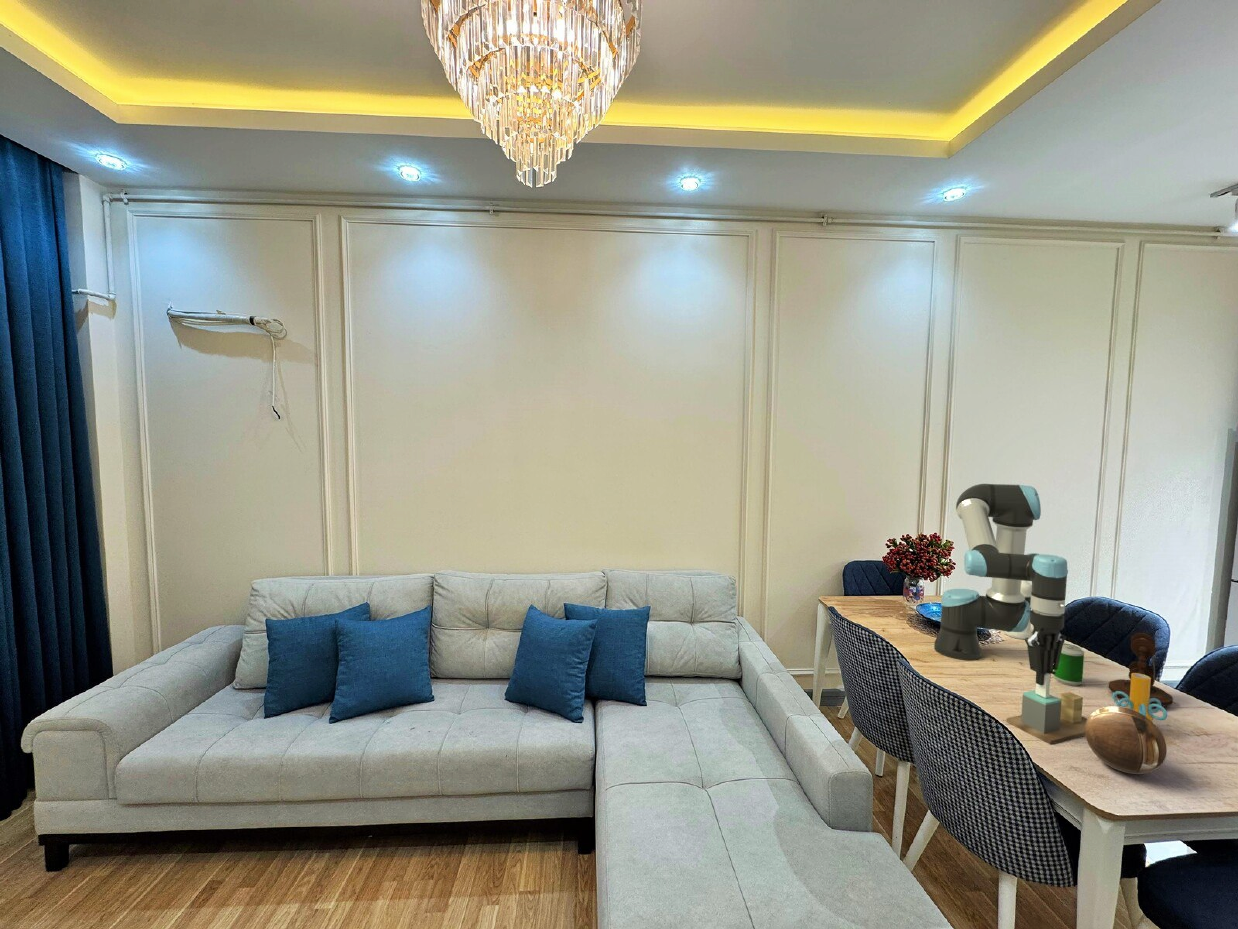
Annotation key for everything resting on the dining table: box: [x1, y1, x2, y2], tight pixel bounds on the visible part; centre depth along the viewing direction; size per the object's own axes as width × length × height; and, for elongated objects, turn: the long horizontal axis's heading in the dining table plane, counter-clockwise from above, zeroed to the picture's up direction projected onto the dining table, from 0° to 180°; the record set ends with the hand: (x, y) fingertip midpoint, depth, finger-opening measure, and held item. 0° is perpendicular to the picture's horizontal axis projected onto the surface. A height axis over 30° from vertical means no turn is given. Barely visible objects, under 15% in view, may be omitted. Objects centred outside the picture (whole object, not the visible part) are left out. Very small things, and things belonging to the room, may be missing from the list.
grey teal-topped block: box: [1021, 689, 1062, 734], centre depth 156 cm, size 6×6×9 cm
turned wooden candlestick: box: [1107, 632, 1174, 708], centre depth 174 cm, size 15×15×20 cm
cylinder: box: [1111, 673, 1168, 723], centre depth 157 cm, size 12×10×15 cm
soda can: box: [1053, 642, 1085, 687], centre depth 186 cm, size 8×8×12 cm
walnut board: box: [1006, 691, 1088, 745], centre depth 158 cm, size 12×22×8 cm, turn 109°
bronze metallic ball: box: [1085, 705, 1168, 775], centre depth 139 cm, size 15×15×15 cm
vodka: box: [1003, 580, 1033, 640], centre depth 226 cm, size 9×9×30 cm
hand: (1042, 695), depth 156 cm, fingers closed
